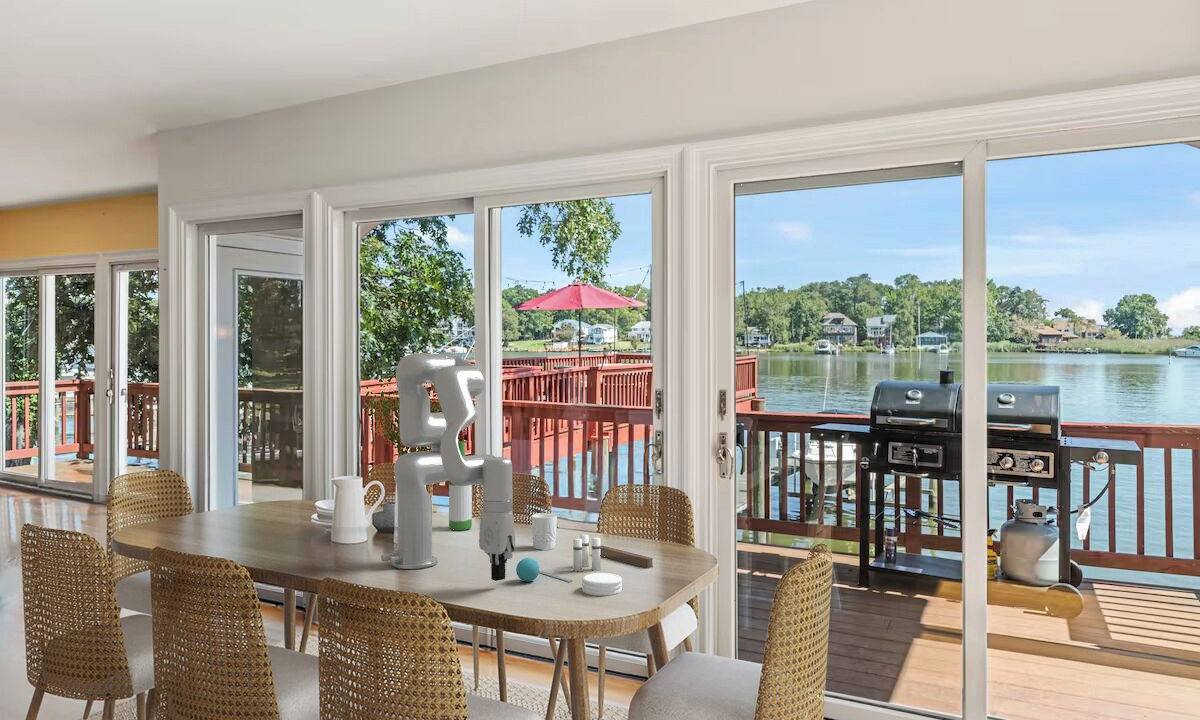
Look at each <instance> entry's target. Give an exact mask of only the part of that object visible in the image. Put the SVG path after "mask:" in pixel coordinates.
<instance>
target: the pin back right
mask: <svg viewBox="0 0 1200 720" xmlns="http://www.w3.org/2000/svg"><path fill="white" fill-rule="evenodd" d="M600 549H601V538H600V537H591V570H592V571H600V570H601V556H600Z"/></svg>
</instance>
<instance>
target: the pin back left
mask: <svg viewBox="0 0 1200 720" xmlns="http://www.w3.org/2000/svg"><path fill="white" fill-rule="evenodd" d="M589 537H590V535H588V534H580V535H579V539H582V568H588V567H589V566H590V565H589V562H590V561H589V556H590V555H589V552H590V550H589V545H590V543H589V542H590V541H589V539H590V538H589ZM587 566H588V567H587Z"/></svg>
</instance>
